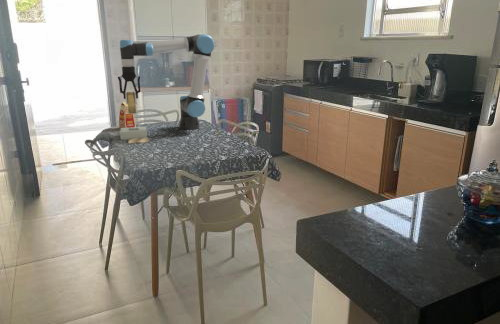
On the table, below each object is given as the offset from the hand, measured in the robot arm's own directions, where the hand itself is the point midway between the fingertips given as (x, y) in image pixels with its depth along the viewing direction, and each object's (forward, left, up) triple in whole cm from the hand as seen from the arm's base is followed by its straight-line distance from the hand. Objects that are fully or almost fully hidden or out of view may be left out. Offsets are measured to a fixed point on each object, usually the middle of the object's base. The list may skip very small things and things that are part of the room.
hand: (131, 103), depth 241 cm
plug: (0, 0, -6) cm, 6 cm away
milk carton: (+5, -27, -22) cm, 35 cm away
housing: (0, -1, -22) cm, 22 cm away
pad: (-3, +11, -22) cm, 24 cm away
